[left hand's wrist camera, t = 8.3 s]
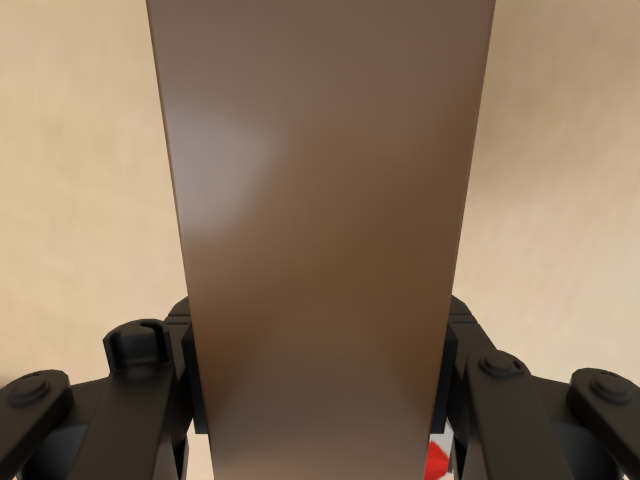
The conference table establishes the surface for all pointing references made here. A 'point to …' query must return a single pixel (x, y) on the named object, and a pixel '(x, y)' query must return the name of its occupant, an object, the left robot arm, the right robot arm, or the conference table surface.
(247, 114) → the beam
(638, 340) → the conference table surface
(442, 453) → the fish
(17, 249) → the conference table surface
